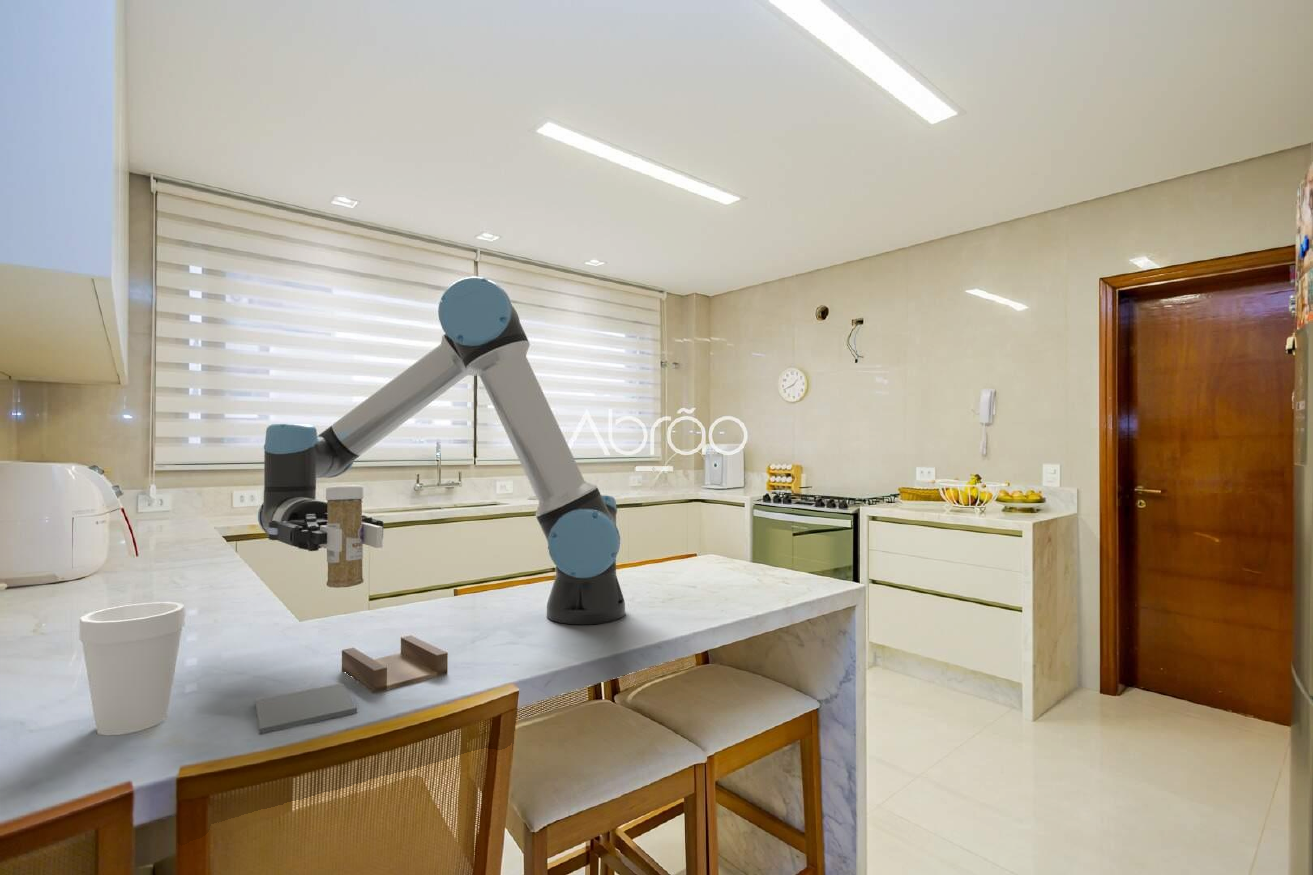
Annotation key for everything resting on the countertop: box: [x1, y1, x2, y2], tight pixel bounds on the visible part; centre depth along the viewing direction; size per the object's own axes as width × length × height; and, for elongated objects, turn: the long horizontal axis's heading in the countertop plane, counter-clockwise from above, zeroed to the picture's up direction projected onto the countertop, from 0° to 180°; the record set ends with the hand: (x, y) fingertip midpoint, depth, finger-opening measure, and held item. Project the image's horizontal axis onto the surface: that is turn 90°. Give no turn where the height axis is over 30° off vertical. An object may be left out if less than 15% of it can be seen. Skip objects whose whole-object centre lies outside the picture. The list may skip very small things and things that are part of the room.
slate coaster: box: [254, 682, 358, 735], centre depth 78 cm, size 10×10×1 cm
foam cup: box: [78, 601, 186, 736], centre depth 74 cm, size 10×9×13 cm
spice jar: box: [325, 484, 365, 589], centre depth 85 cm, size 5×5×14 cm
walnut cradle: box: [341, 635, 449, 694], centre depth 90 cm, size 10×12×3 cm
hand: (359, 539), depth 81 cm, fingers closed on spice jar, 4 cm apart
